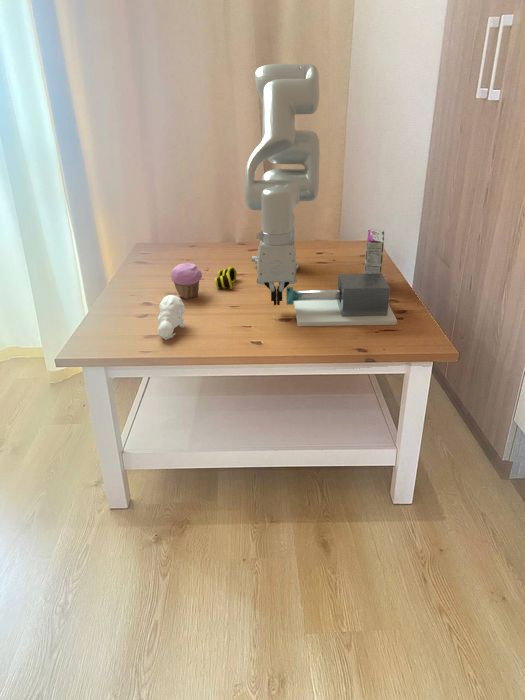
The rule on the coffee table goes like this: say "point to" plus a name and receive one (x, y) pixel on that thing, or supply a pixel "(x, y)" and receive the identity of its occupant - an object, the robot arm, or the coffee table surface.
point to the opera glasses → (226, 278)
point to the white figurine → (170, 316)
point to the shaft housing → (363, 295)
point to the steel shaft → (311, 295)
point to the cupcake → (186, 279)
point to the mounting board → (335, 315)
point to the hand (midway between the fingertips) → (276, 303)
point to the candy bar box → (374, 251)
